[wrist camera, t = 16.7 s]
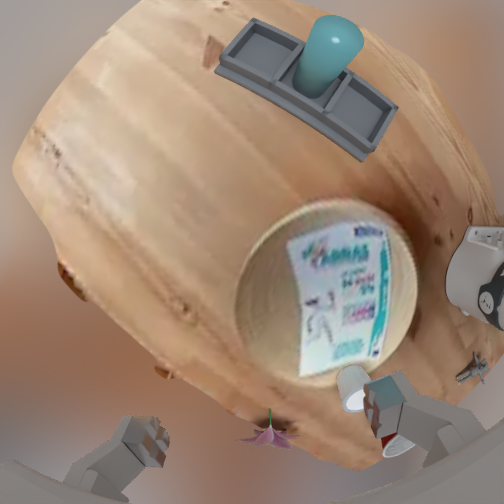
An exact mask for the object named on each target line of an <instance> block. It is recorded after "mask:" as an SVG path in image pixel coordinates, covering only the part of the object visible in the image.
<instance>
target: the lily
mask: <svg viewBox="0 0 504 504" xmlns="http://www.w3.org/2000/svg"><path fill="white" fill-rule="evenodd" d="M269 416H270V427H269V428H268V429H266V430H265V431H264V432H263V431H258V430H254V433H255V435H258V436H255V437H252V438H246V439H236V441H239V442H244V443H254V444H253V446H254V447H257V446H263V445H267V444H269V445H271V446H273V447H276V448H281V449H293V448H292V446H291V445H290V443H289V442H288V440H287V439H293V438H297V437H301V436H303V435H287V431H282V432H278V431H276V430H274V429H273V428H272V424H271V411H270V408H269ZM261 433H262V434H261ZM259 434H260V435H259Z"/></svg>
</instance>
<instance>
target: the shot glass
mask: <svg viewBox="0 0 504 504" xmlns="http://www.w3.org/2000/svg"><path fill="white" fill-rule="evenodd" d="M370 381H372V380H371V378H370V377H369V376H368V374H367V373H366V372H365V370H364V369H363V368H362V367H361V366H359V365H351V366H348V367H346V368H344V369H343V370H342V371H340V372H339V374H338V376H337V385H338V390H339V394H340V398H341V402H342V407H343V408H344V410H345V411H347V412H350V413H356V412H360V411H363V410H364V406H363V398H364V396H365V393H364V391H363V386H364V383H367V382H370Z"/></svg>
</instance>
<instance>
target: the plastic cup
mask: <svg viewBox="0 0 504 504" xmlns="http://www.w3.org/2000/svg"><path fill="white" fill-rule="evenodd" d="M381 440H382V447H383V452H382V455H383V456H384V457H394V456H397V455H399V454H401V453H403V452H405V451H407V450H408V449H410V448H411V447H413V446H414V445H415V443H413V442H411V441H409V440H408V439H406V438H404V437H403V436H401V435H399V434H398V433H397V432H396V433H393V434H390V435H387V436H385V437H382V438H381Z"/></svg>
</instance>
